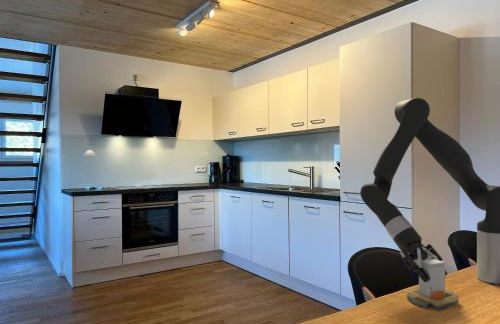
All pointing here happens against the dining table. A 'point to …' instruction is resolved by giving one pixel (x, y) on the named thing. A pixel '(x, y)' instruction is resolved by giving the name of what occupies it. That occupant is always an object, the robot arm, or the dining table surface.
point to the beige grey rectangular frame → (433, 300)
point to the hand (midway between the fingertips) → (436, 278)
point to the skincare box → (433, 279)
